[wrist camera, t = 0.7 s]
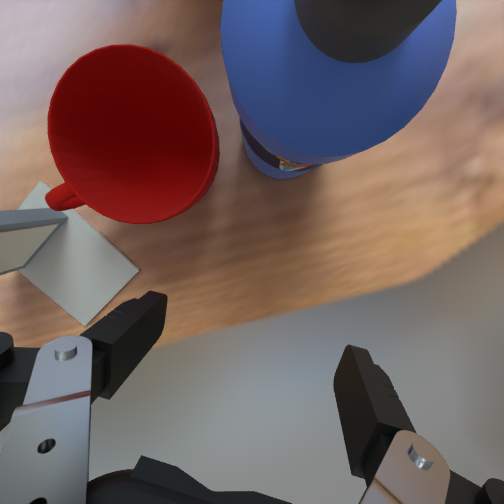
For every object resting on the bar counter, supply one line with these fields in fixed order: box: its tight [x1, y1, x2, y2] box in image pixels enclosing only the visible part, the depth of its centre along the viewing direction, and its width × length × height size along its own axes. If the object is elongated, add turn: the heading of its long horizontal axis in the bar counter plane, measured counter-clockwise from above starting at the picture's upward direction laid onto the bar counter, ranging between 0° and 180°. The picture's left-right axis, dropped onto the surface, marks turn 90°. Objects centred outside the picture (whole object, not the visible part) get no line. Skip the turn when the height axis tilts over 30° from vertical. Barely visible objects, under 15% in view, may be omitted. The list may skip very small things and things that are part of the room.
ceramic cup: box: [45, 44, 220, 224], centre depth 25 cm, size 13×17×10 cm
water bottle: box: [221, 0, 457, 179], centre depth 16 cm, size 9×9×25 cm
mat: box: [17, 181, 140, 326], centre depth 32 cm, size 15×11×1 cm
